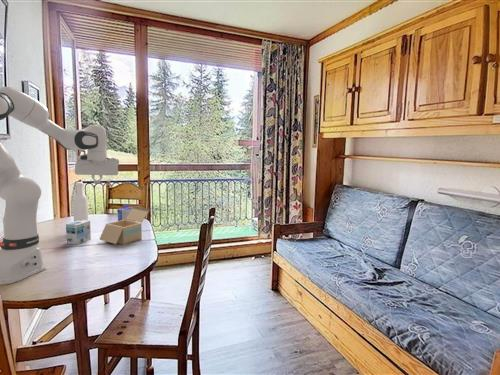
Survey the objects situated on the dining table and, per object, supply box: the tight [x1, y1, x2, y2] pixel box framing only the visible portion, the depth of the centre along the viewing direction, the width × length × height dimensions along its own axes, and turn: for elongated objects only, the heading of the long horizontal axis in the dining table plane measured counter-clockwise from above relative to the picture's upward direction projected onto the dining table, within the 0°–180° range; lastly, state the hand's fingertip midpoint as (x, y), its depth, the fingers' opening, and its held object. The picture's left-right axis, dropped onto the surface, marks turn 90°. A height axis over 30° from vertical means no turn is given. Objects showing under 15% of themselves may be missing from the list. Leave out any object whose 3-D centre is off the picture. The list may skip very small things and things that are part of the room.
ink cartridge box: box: [116, 203, 136, 222], centre depth 198 cm, size 10×6×14 cm, turn 147°
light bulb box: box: [65, 220, 92, 246], centre depth 166 cm, size 11×7×11 cm, turn 168°
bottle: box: [72, 181, 89, 222], centre depth 183 cm, size 8×8×30 cm
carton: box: [99, 220, 143, 245], centre depth 170 cm, size 17×14×9 cm
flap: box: [126, 206, 151, 224], centre depth 179 cm, size 9×13×1 cm
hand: (97, 183), depth 160 cm, fingers closed
